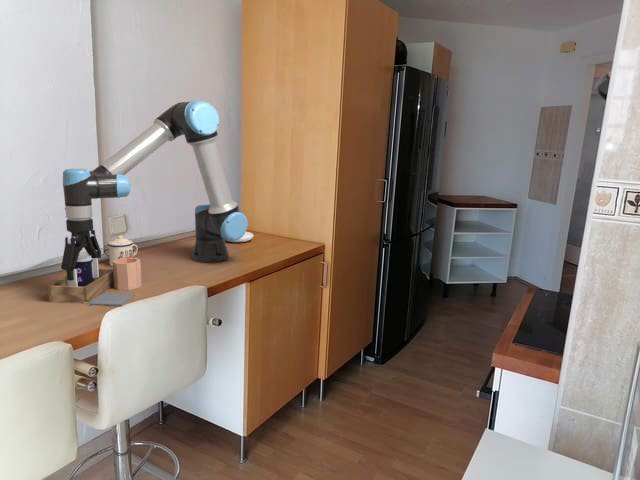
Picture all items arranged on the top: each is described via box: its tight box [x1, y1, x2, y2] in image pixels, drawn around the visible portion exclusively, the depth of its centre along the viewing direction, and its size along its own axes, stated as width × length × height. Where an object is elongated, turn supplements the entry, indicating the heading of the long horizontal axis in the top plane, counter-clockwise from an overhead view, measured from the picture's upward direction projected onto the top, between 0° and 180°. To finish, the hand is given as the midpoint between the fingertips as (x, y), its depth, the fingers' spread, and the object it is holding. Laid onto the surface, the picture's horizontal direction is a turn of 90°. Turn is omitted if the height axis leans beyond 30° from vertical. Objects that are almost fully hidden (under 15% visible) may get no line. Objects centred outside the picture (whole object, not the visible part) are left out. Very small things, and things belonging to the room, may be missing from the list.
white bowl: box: [224, 231, 254, 243], centre depth 232 cm, size 16×16×7 cm
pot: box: [112, 257, 142, 291], centre depth 157 cm, size 8×8×9 cm
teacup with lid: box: [107, 235, 139, 268], centre depth 184 cm, size 12×9×12 cm
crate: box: [47, 268, 114, 303], centre depth 151 cm, size 12×21×5 cm, turn 179°
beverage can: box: [75, 253, 94, 287], centre depth 150 cm, size 6×6×12 cm
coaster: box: [87, 292, 136, 307], centre depth 144 cm, size 10×10×1 cm
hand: (84, 283), depth 151 cm, fingers open, 13 cm apart
